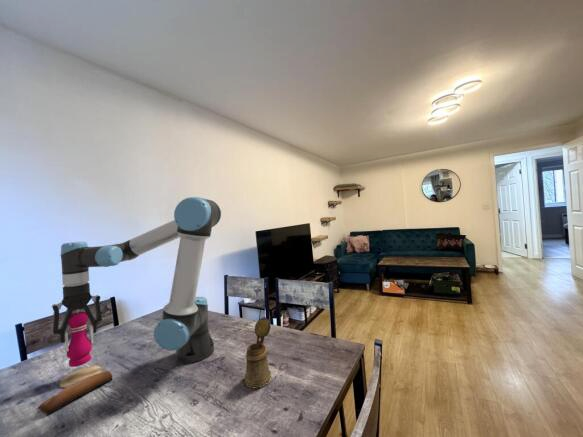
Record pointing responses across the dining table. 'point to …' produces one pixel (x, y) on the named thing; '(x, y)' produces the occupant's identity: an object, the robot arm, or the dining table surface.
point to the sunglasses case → (74, 392)
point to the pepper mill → (79, 339)
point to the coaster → (79, 375)
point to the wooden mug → (258, 357)
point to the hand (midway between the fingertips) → (79, 346)
